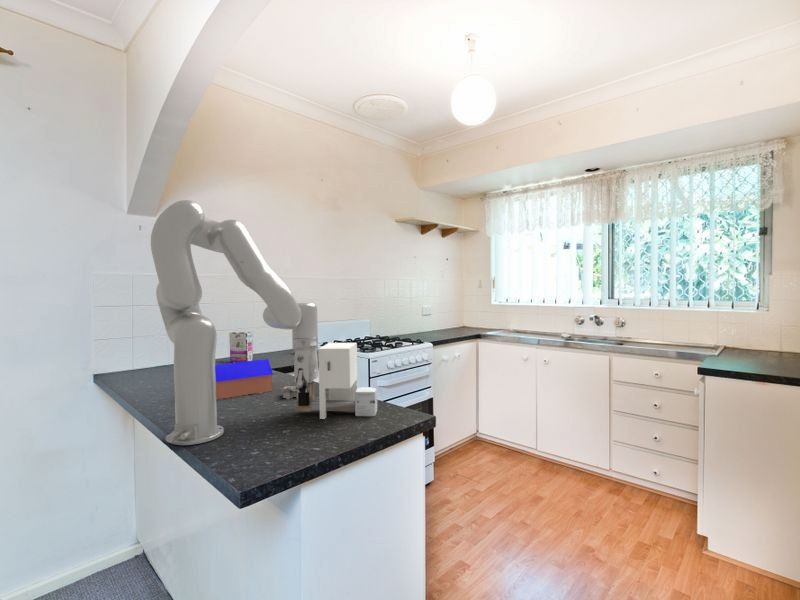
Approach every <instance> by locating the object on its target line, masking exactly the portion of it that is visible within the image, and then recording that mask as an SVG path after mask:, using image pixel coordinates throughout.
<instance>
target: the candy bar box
mask: <svg viewBox="0 0 800 600" xmlns="http://www.w3.org/2000/svg"><path fill="white" fill-rule="evenodd" d="M253 355H254V354H253V332H252V331H231V332H229V363H230V362H245V361H254V359H253V358H254V357H253Z"/></svg>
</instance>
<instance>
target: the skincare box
mask: <svg viewBox="0 0 800 600" xmlns="http://www.w3.org/2000/svg"><path fill="white" fill-rule="evenodd" d="M354 412H355V414H354V415H355V417H375V416H376V415H377V412H378V386H377V387H374V386H373V387H370V386H369V387H368V386H367V387H365V386H363V387H361V386H360V387H358V389H357V390H356V392H355V411H354Z"/></svg>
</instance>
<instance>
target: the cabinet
mask: <svg viewBox="0 0 800 600" xmlns="http://www.w3.org/2000/svg"><path fill="white" fill-rule="evenodd" d="M357 343H358V342H328V343H326V344H324V345H323V346H321V347H318V348H317V349H318V350H317V355H318V385H319V387H318V389H319V390H318V391H319V392H318V394H319V395H318V396H319V398H318V400H319V401H320V411H319V420H320V419H325V418H326V419H327V411H326V400H327V395H326V394H327V390H326V389H328V400H349V401H355V392H356V390H357V389H358V386H359V385H358V344H357ZM326 419H325V420H326Z"/></svg>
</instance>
